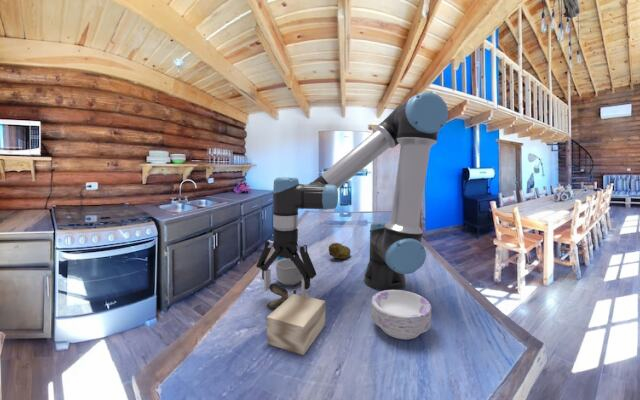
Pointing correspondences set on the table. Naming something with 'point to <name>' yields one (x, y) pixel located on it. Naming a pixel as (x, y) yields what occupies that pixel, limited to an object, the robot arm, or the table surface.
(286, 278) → the teacup
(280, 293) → the eagle figurine
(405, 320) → the paper bowls
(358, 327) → the table surface
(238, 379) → the table surface
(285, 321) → the plinth
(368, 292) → the table surface
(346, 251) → the potato
